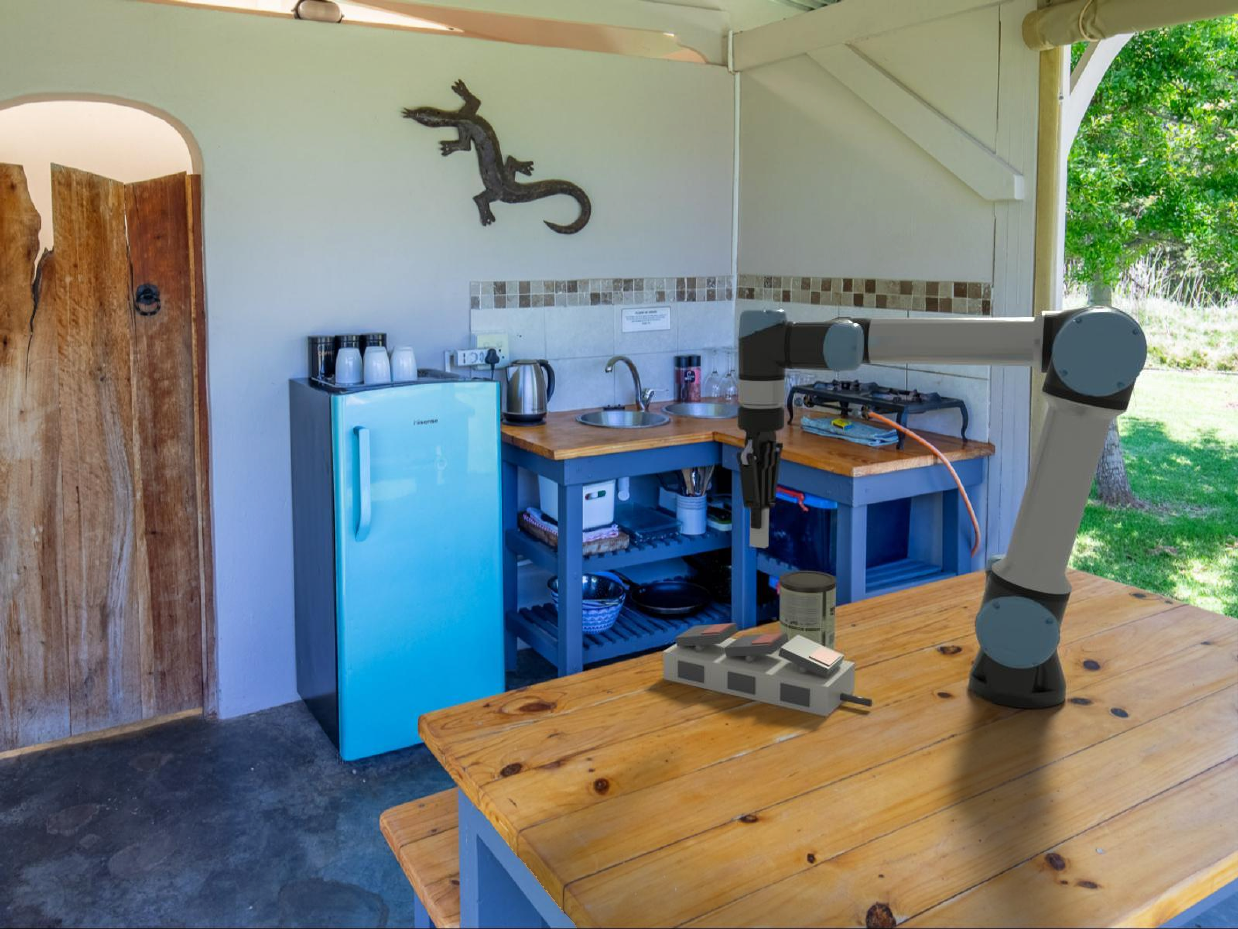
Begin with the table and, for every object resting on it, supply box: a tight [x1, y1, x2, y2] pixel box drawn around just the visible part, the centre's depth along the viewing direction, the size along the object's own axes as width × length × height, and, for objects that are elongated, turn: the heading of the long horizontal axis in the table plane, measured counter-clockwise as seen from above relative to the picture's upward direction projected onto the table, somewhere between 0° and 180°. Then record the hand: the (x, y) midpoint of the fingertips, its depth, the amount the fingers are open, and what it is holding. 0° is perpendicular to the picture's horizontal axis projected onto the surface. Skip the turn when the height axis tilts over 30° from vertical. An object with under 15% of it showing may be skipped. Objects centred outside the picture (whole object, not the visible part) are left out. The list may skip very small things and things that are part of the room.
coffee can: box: [779, 570, 838, 651], centre depth 193 cm, size 10×10×14 cm
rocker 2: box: [724, 632, 789, 657], centre depth 178 cm, size 8×7×2 cm
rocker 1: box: [674, 622, 739, 647], centre depth 183 cm, size 8×7×2 cm
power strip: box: [662, 637, 873, 717], centre depth 178 cm, size 35×12×6 cm, turn 57°
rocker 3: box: [778, 635, 845, 678], centre depth 173 cm, size 8×7×2 cm
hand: (759, 546), depth 175 cm, fingers closed
